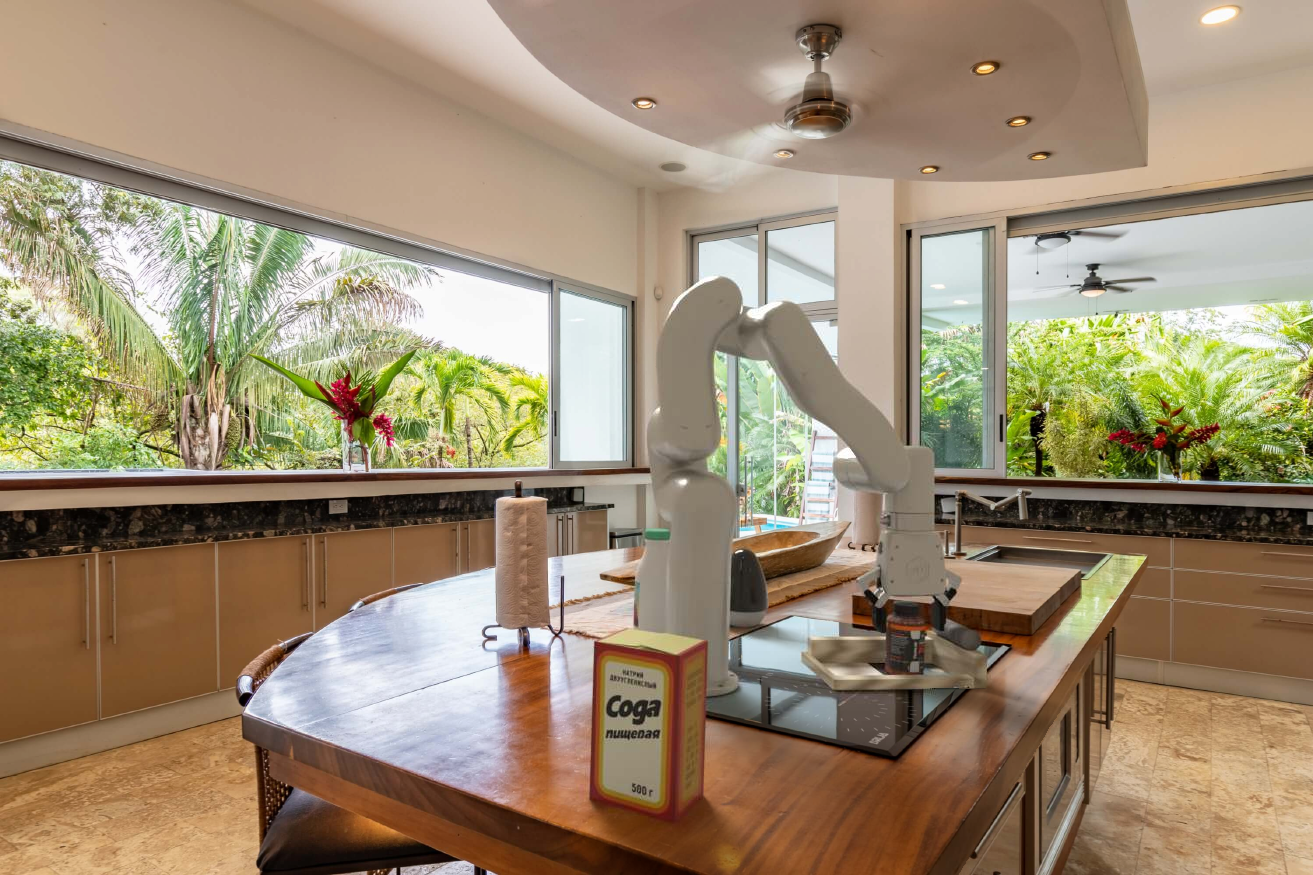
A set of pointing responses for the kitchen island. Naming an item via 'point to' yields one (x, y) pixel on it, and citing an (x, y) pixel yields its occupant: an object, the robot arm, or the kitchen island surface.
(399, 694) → the kitchen island surface
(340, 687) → the kitchen island surface
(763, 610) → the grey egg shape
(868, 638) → the bay
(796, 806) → the kitchen island surface
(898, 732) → the kitchen island surface
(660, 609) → the milk bottle
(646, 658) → the baking soda box
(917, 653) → the supplement bottle
